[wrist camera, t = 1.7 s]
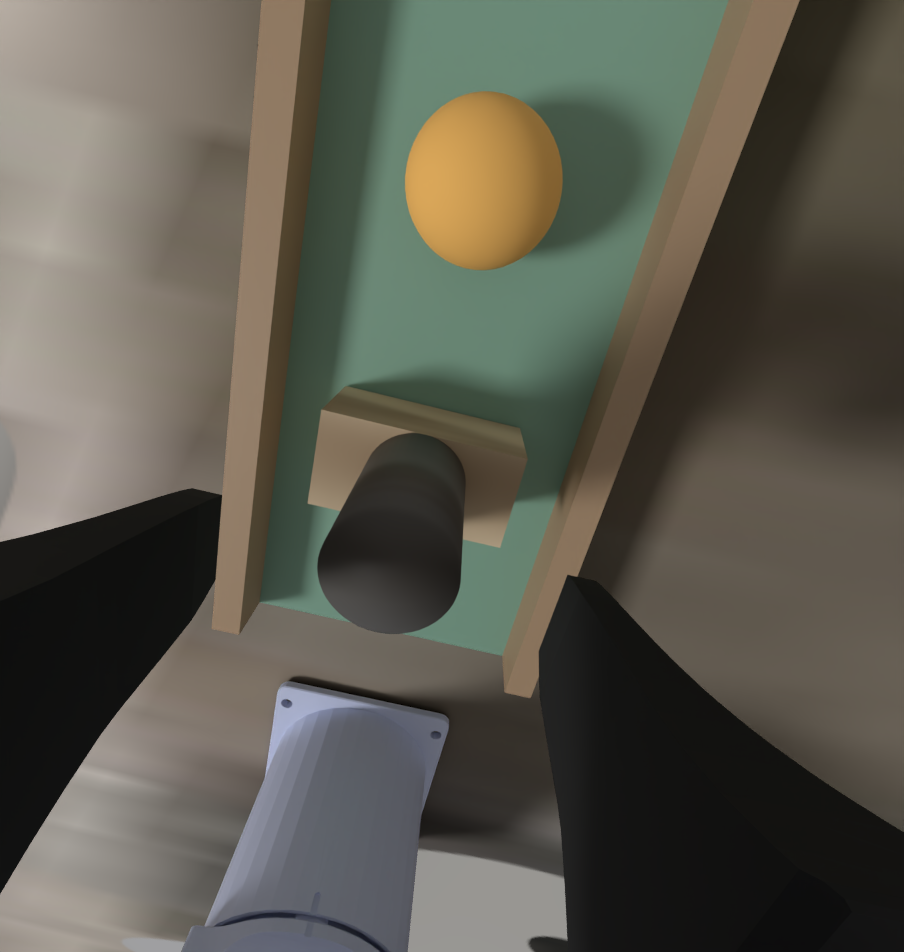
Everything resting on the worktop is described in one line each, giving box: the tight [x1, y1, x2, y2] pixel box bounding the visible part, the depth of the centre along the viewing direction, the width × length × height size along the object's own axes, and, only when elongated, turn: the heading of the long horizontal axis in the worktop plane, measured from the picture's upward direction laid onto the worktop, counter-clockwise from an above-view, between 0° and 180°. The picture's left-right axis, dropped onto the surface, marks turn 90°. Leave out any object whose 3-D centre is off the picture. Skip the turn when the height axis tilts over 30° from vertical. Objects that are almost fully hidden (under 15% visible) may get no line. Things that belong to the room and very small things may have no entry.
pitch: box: [212, 0, 800, 698], centre depth 13 cm, size 32×12×8 cm, turn 167°
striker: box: [308, 386, 528, 634], centre depth 15 cm, size 3×6×8 cm, turn 77°
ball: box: [405, 91, 563, 270], centre depth 14 cm, size 4×4×4 cm
